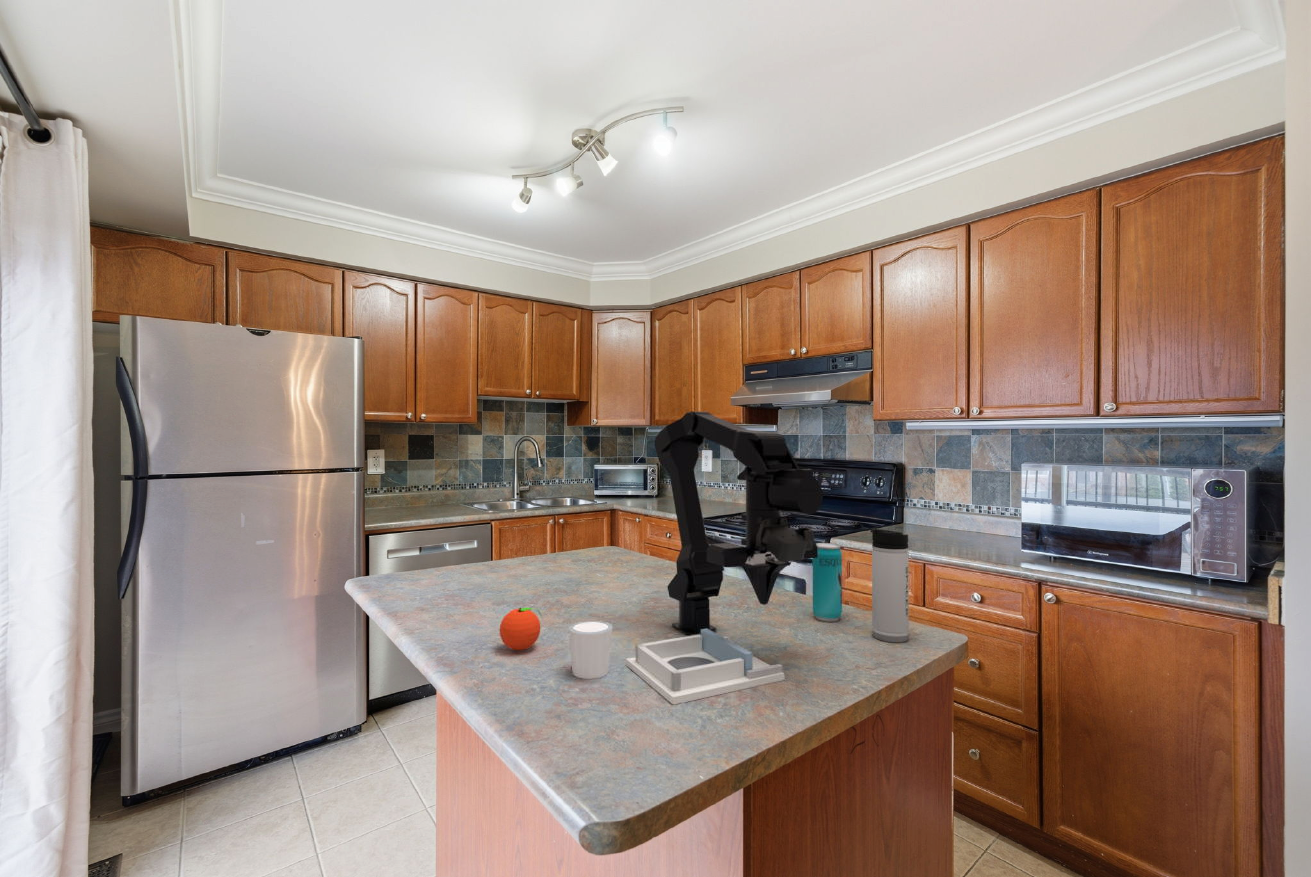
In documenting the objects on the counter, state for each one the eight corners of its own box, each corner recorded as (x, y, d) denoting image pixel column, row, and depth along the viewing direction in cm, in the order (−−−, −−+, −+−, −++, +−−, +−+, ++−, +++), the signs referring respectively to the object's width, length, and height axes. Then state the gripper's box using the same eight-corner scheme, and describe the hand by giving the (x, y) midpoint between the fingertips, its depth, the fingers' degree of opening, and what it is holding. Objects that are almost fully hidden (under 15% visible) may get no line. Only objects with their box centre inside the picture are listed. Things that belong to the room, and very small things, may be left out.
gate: (700, 648, 98) (700, 629, 98) (706, 647, 98) (706, 628, 98) (745, 675, 86) (745, 654, 86) (752, 674, 87) (752, 652, 87)
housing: (625, 664, 93) (626, 643, 93) (725, 646, 102) (725, 626, 102) (673, 704, 79) (673, 678, 79) (784, 679, 87) (784, 656, 87)
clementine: (531, 638, 106) (531, 599, 106) (553, 647, 101) (553, 606, 101) (491, 648, 101) (492, 607, 101) (512, 659, 96) (513, 616, 96)
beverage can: (843, 623, 115) (843, 547, 116) (813, 621, 116) (813, 546, 117) (840, 615, 121) (840, 543, 121) (811, 613, 122) (811, 542, 122)
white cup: (619, 666, 93) (619, 622, 93) (601, 682, 86) (601, 635, 86) (580, 661, 95) (580, 618, 95) (560, 676, 88) (560, 630, 89)
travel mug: (864, 632, 110) (864, 526, 110) (898, 631, 110) (897, 526, 111) (880, 643, 104) (879, 531, 104) (915, 642, 104) (915, 530, 105)
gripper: (745, 516, 84) (745, 625, 84) (841, 510, 93) (842, 609, 92) (704, 509, 94) (705, 606, 94) (795, 504, 103) (795, 593, 102)
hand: (763, 603), depth 95 cm, fingers closed
